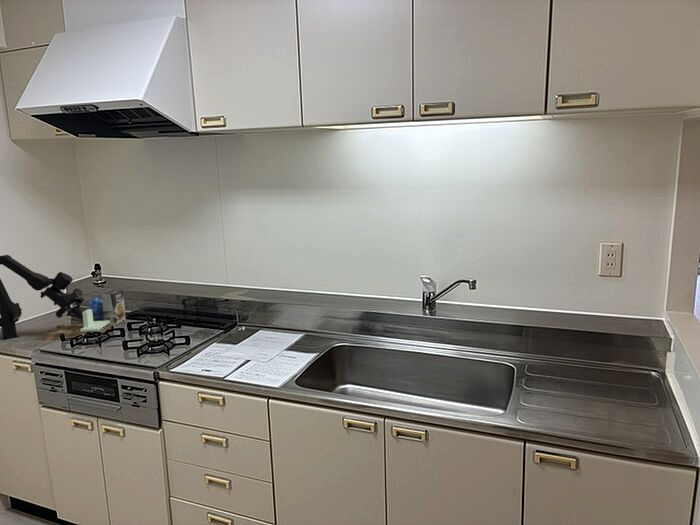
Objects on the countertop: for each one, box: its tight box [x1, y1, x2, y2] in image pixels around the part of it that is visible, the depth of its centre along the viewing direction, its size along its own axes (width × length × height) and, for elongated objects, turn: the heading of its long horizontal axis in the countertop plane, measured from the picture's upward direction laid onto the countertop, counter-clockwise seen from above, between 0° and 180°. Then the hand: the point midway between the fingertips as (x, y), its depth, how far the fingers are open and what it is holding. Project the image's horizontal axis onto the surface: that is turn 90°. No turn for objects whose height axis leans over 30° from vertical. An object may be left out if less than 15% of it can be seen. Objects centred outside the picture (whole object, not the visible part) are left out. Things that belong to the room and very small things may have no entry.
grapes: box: [87, 296, 104, 321], centre depth 263 cm, size 12×7×12 cm, turn 80°
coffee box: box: [101, 289, 126, 326], centre depth 258 cm, size 9×6×16 cm
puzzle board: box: [43, 323, 116, 341], centre depth 241 cm, size 26×16×3 cm, turn 95°
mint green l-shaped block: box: [80, 308, 110, 332], centre depth 241 cm, size 8×14×8 cm, turn 5°
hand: (85, 318), depth 241 cm, fingers closed, pressing on mint green l-shaped block
